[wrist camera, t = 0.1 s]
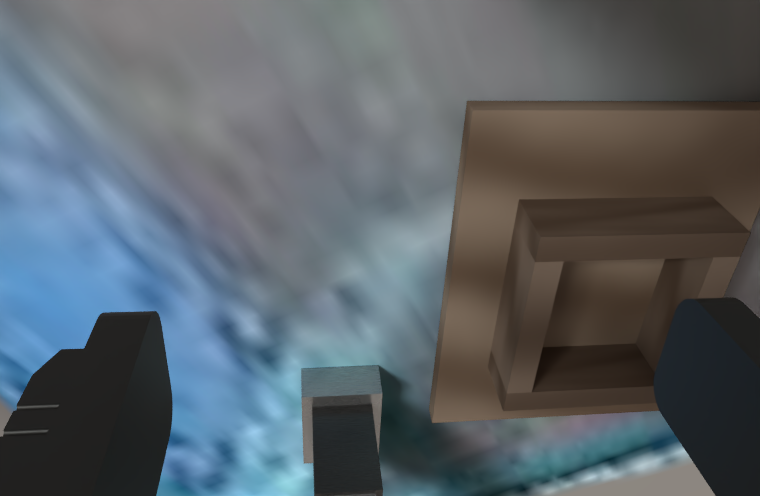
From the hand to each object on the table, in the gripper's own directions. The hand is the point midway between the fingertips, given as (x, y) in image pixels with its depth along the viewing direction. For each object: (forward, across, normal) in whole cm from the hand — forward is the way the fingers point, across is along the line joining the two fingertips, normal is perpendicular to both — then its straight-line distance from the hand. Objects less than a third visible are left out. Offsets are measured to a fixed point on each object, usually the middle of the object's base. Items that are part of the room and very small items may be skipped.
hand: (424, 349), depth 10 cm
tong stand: (+18, -12, +10) cm, 24 cm away
